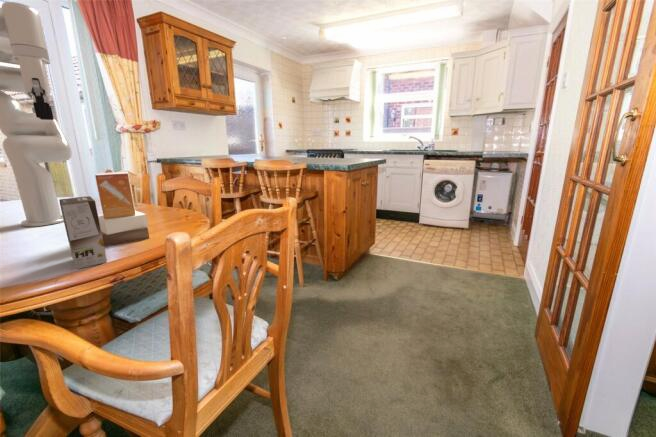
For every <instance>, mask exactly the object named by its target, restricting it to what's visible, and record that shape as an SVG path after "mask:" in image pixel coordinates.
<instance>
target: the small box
mask: <svg viewBox="0 0 656 437" xmlns="http://www.w3.org/2000/svg"><path fill="white" fill-rule="evenodd" d="M94 176H95V177H94V178H95V181H96V186H97V191H98V197H99V202H100V206H101V210H102V214H103V216H104V218H111V217H121V216H130V215H135V210H136V206H135V202H134V196H133V192H132V186H131V180H130V176H129V171H117V172H115V171H114V172H99V173H96V174H95V175H94Z"/></svg>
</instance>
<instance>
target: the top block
mask: <svg viewBox="0 0 656 437" xmlns="http://www.w3.org/2000/svg"><path fill="white" fill-rule="evenodd" d="M147 217H148V216H147V214H146V213H144V212H141V211H138V210H136V209H135V215H130V216H121V217H111V218H104V216H103V213H101V214H98V218H99V223H100V228H101V231H102V232H103V233H105V234H107V235H109V234H114V233H119V232H124V231H129V230H134V229H139V228H144V227H147V228H148V227H149V223H148V218H147Z"/></svg>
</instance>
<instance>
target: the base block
mask: <svg viewBox="0 0 656 437" xmlns="http://www.w3.org/2000/svg"><path fill="white" fill-rule="evenodd" d="M101 233H102V238H103V243H104V247H108V246H109V245H110V246H114V245H120V244H126V243H132V242H137V241H143V240H149V239H150V233H149V228H148V227H144V228H139V229H134V230H129V231H124V232H119V233H114V234H109V235H107V234H105V233H103V232H102V231H101Z"/></svg>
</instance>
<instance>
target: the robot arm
mask: <svg viewBox="0 0 656 437" xmlns="http://www.w3.org/2000/svg"><path fill="white" fill-rule="evenodd" d="M43 28H44V27H43V24H42V19H41V15H40V13H39V11H38V10H36V9H35V8H34V7H32V6H30V5H27V4H24V3H21V2H20V3H19V2H17V1H15V2H14V1H5V2H3V3H2V4H1V7H0V63H3V64H4V63H5V64H11V65H17V66H19V67H13V66H6V65H0V131H1V133H2V134H3V135H4V136H5V137H6V138H5V139H3V141H2V148H3V151H4V153H5V155H6V157H7V159H8V161H9V163H10V166H11V169H12V171H13V175H14V179H15V182H16V185H17V189H18V192H19V196H20V201H21V205H22V207H23V211H24V216H25V218H26V219H24V220H22V221H21V226H22V227H27V228H28V227H43V226H48V225H55V224H60V223H64V220H63V215H62V212H61V208H60V204H59V200H58V196H57V193H56V188H55V184H54V181H53V180H54V179H53V176H52V174H51V172H49V170H48V169H46V168H45V167H44V166H42V165H40V164H42V163H59V162H66V161H70V160H71V157H72V149H71V148H72V147H71V146H70V143H69V142H68V140H67V138H66V136H65V134H64V132H63V130H62V128H61V127H60V124H59V123H58V121H57V120H56V119H55V118H54V115H53V114H54V113H53V109H52V106H51V105H50V99H51V88H50V82H49V77H48V72H47V67H46V65H50V64H51V60H50V56H49V52H48V46H47V42H46V36H45V33H44V29H43ZM5 92H13V93H14V92H15V93H24V94H25V95H26V96H27V97H29V98H30V99H32V100H33V101H32V102H33V103H32V105H33V108H34V112H27V111H25V110H24V108H23V106H22V104H21V103H20V102H19V101H18V100H17V99H15V98H14V97H12V96H11V95H9V94H8V93H5Z"/></svg>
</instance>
